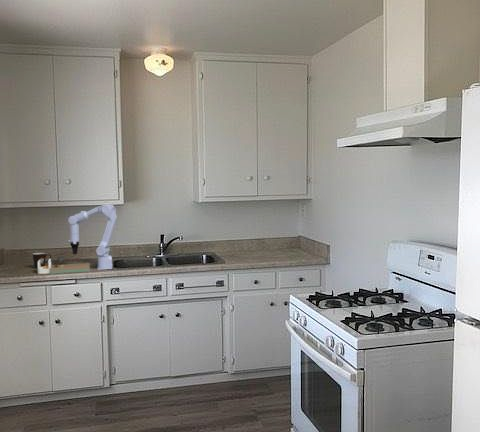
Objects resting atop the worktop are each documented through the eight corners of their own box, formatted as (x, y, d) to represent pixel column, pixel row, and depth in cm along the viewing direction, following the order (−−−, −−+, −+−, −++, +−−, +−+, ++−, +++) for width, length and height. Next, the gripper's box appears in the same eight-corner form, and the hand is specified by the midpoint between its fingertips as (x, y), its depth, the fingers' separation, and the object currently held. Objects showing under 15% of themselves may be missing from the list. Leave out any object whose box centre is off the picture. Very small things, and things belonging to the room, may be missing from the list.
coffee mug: (32, 269, 343) (31, 254, 343) (33, 267, 351) (33, 252, 351) (50, 268, 346) (50, 253, 346) (51, 266, 355) (51, 252, 354)
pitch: (89, 268, 345) (89, 256, 345) (89, 271, 334) (89, 258, 333) (39, 271, 335) (38, 259, 335) (37, 274, 324) (37, 261, 323)
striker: (63, 268, 337) (62, 256, 337) (62, 269, 331) (62, 257, 331) (58, 268, 336) (57, 256, 336) (58, 269, 330) (57, 257, 330)
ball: (47, 272, 333) (51, 267, 334) (47, 273, 330) (50, 268, 330) (42, 269, 332) (45, 264, 333) (41, 270, 328) (45, 265, 329)
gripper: (68, 232, 348) (69, 252, 349) (68, 234, 335) (68, 255, 336) (79, 232, 351) (79, 251, 351) (79, 234, 337) (79, 254, 338)
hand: (75, 253), depth 344 cm, fingers open, 7 cm apart
